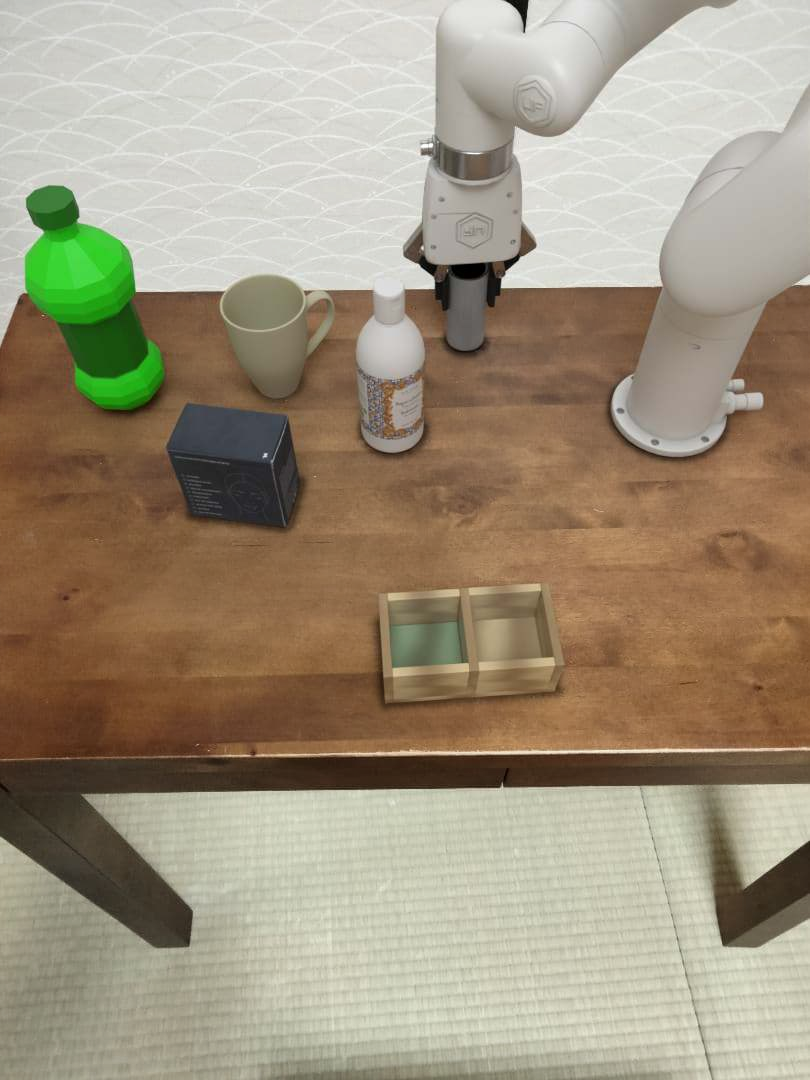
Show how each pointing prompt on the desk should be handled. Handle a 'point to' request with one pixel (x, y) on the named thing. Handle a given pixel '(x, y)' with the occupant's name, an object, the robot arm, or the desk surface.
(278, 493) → the box
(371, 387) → the bath foam
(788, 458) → the desk surface
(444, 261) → the robot arm
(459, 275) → the grey hollow cylinder
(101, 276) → the plastic bottle
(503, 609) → the wooden divided tray
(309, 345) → the mug
